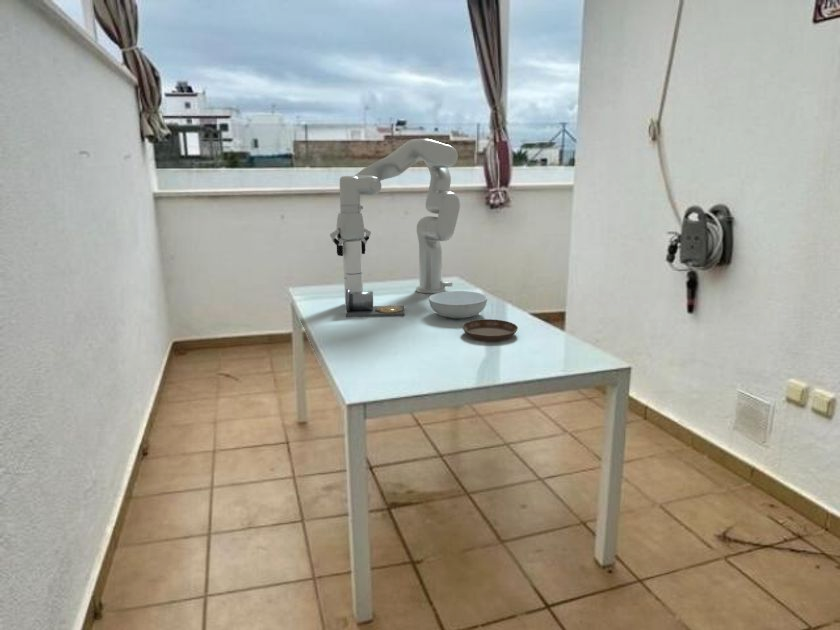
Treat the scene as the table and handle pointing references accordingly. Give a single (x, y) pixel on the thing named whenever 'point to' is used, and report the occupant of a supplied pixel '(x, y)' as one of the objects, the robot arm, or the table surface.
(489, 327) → the plant saucer
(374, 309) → the pipe fitting board
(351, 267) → the cylindrical container
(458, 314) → the serving bowl
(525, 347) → the table surface
